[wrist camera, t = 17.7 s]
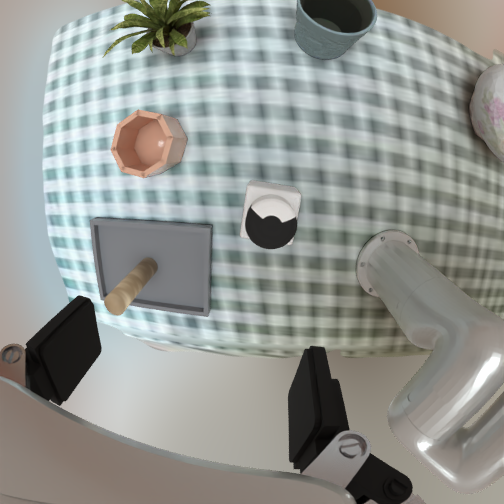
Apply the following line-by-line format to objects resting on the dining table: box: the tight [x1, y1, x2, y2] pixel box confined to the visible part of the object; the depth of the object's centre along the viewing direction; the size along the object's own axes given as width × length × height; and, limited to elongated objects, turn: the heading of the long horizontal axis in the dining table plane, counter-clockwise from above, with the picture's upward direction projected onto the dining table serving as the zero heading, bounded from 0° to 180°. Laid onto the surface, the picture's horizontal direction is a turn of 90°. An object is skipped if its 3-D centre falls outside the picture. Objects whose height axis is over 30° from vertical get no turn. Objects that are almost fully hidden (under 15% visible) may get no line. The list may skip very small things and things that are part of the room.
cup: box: [111, 110, 187, 178], centre depth 36 cm, size 9×9×7 cm
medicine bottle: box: [240, 180, 301, 249], centre depth 37 cm, size 7×7×12 cm
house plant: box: [103, 0, 211, 57], centre depth 26 cm, size 14×14×16 cm
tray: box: [90, 217, 212, 317], centre depth 46 cm, size 22×16×2 cm
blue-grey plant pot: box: [295, 0, 377, 60], centre depth 26 cm, size 10×10×12 cm
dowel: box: [104, 257, 158, 315], centre depth 40 cm, size 3×3×14 cm
